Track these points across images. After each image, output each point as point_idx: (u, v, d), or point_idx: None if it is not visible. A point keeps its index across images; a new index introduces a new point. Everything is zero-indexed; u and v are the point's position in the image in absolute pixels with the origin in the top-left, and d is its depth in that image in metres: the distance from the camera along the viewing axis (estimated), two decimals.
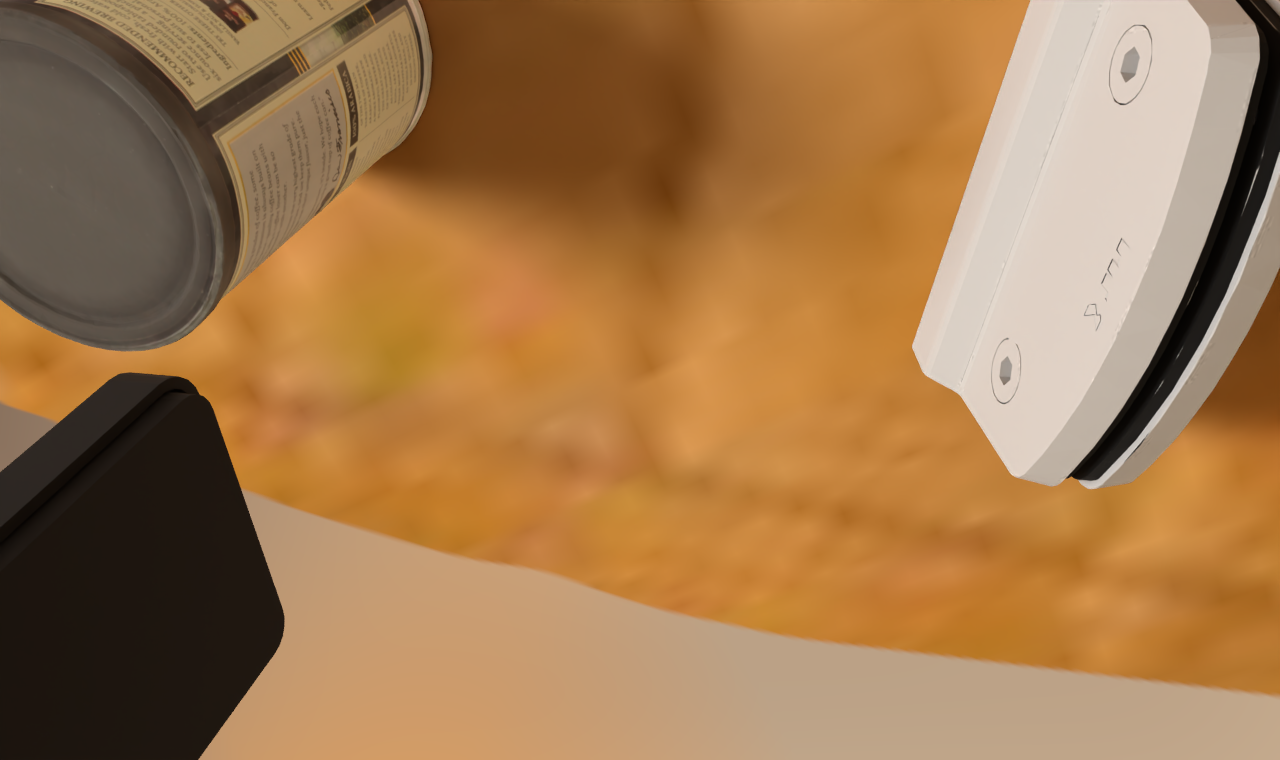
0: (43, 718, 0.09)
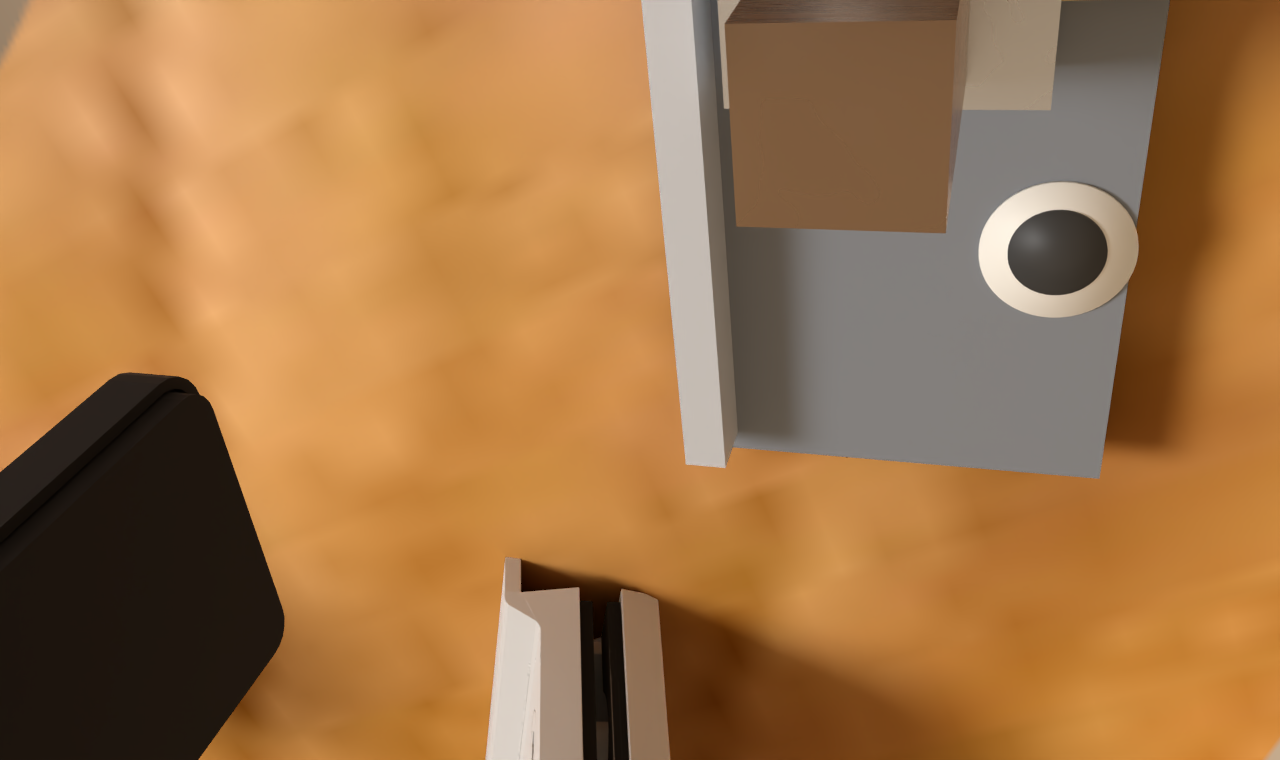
0: (43, 718, 0.09)
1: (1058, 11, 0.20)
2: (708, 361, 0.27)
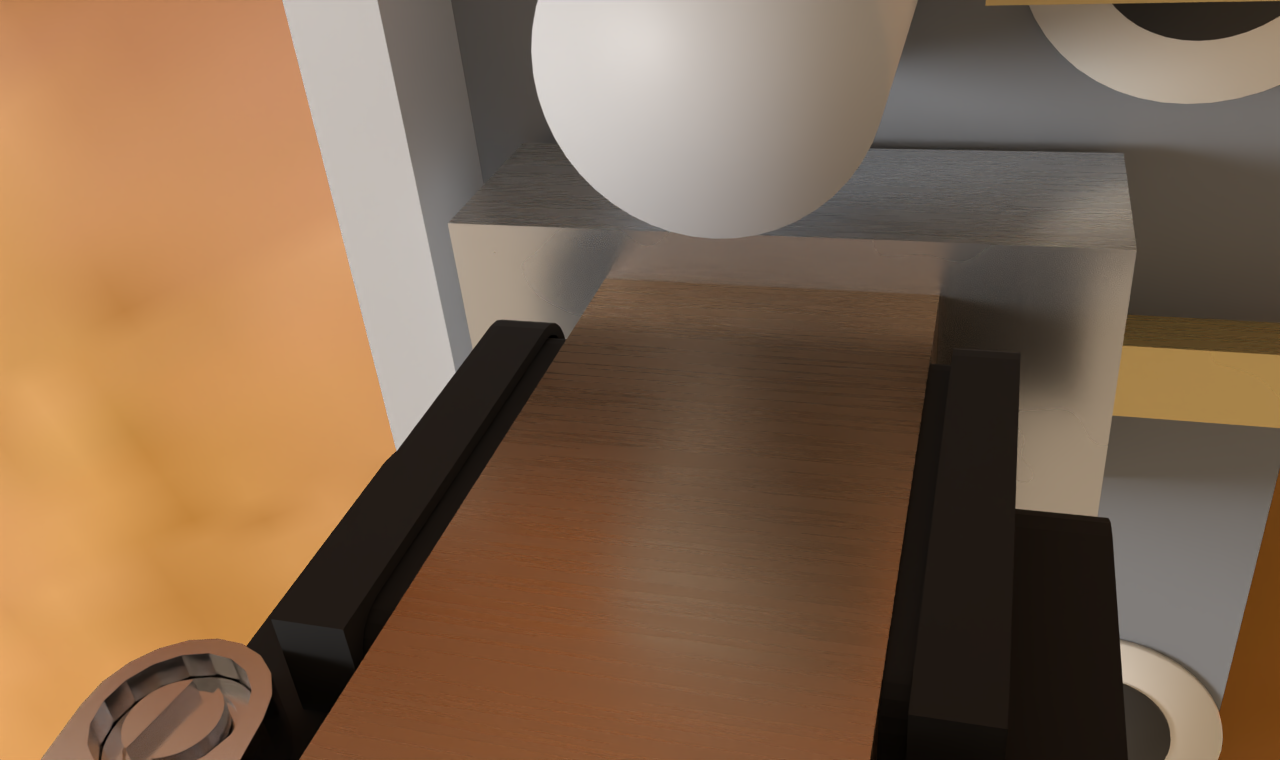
0: None
1: (1099, 472, 0.11)
2: None
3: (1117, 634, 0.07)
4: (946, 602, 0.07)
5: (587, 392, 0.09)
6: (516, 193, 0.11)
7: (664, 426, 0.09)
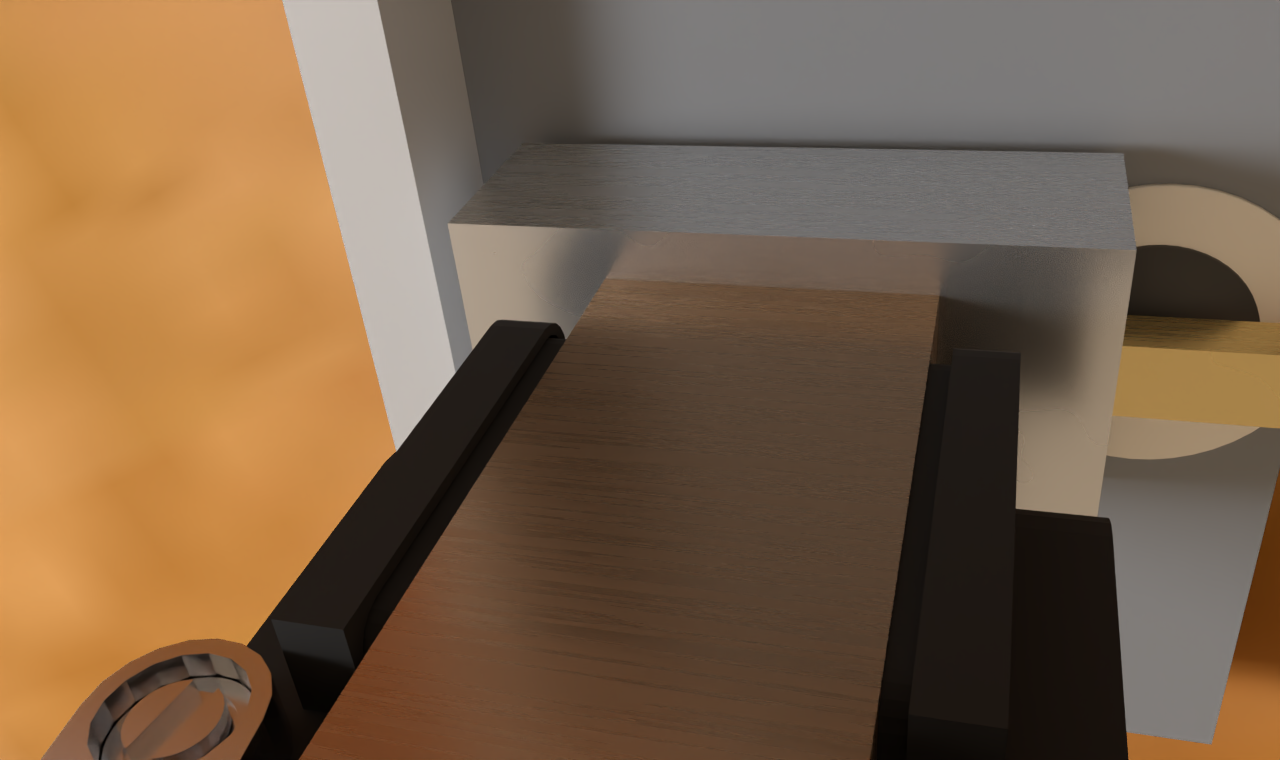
0: None
1: (1099, 472, 0.11)
2: None
3: (1117, 634, 0.07)
4: (946, 602, 0.07)
5: (587, 392, 0.09)
6: (516, 193, 0.11)
7: (662, 424, 0.09)
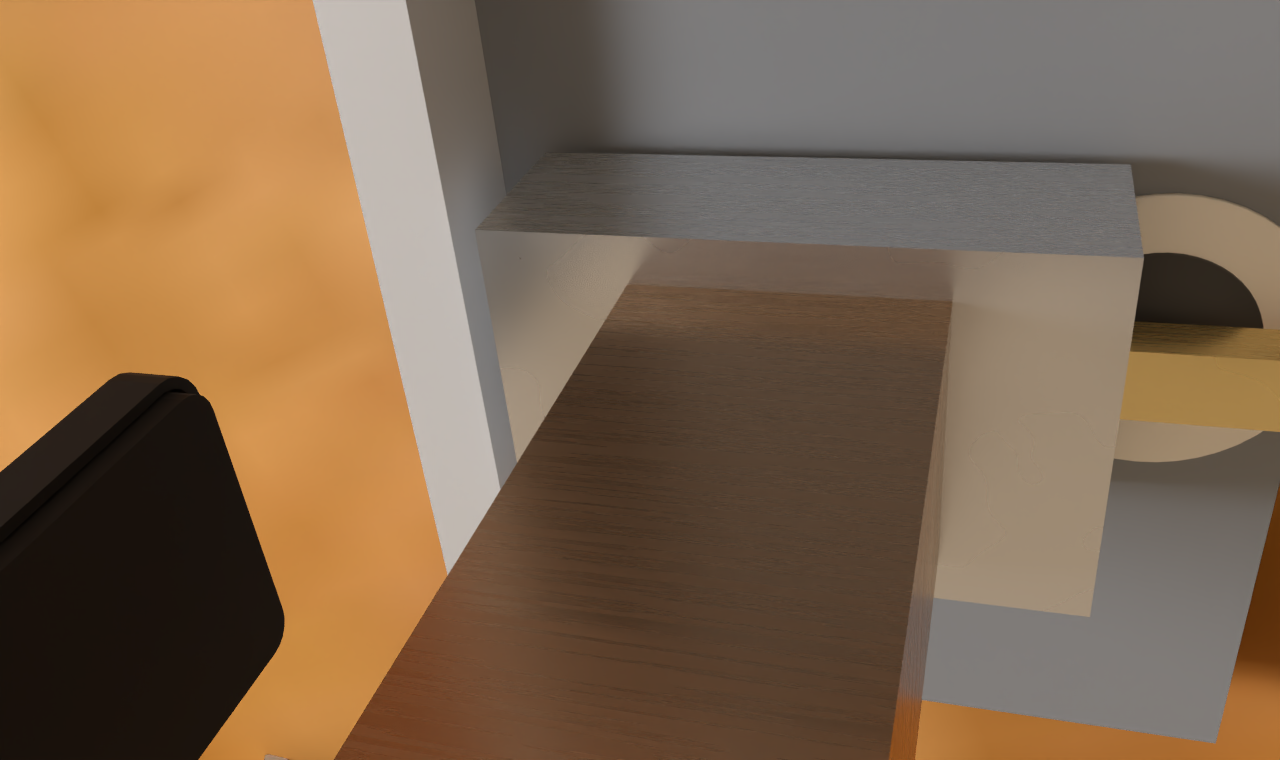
0: (43, 718, 0.09)
1: (1107, 474, 0.11)
2: None
3: None
4: None
5: (613, 393, 0.10)
6: (541, 200, 0.12)
7: (687, 423, 0.09)
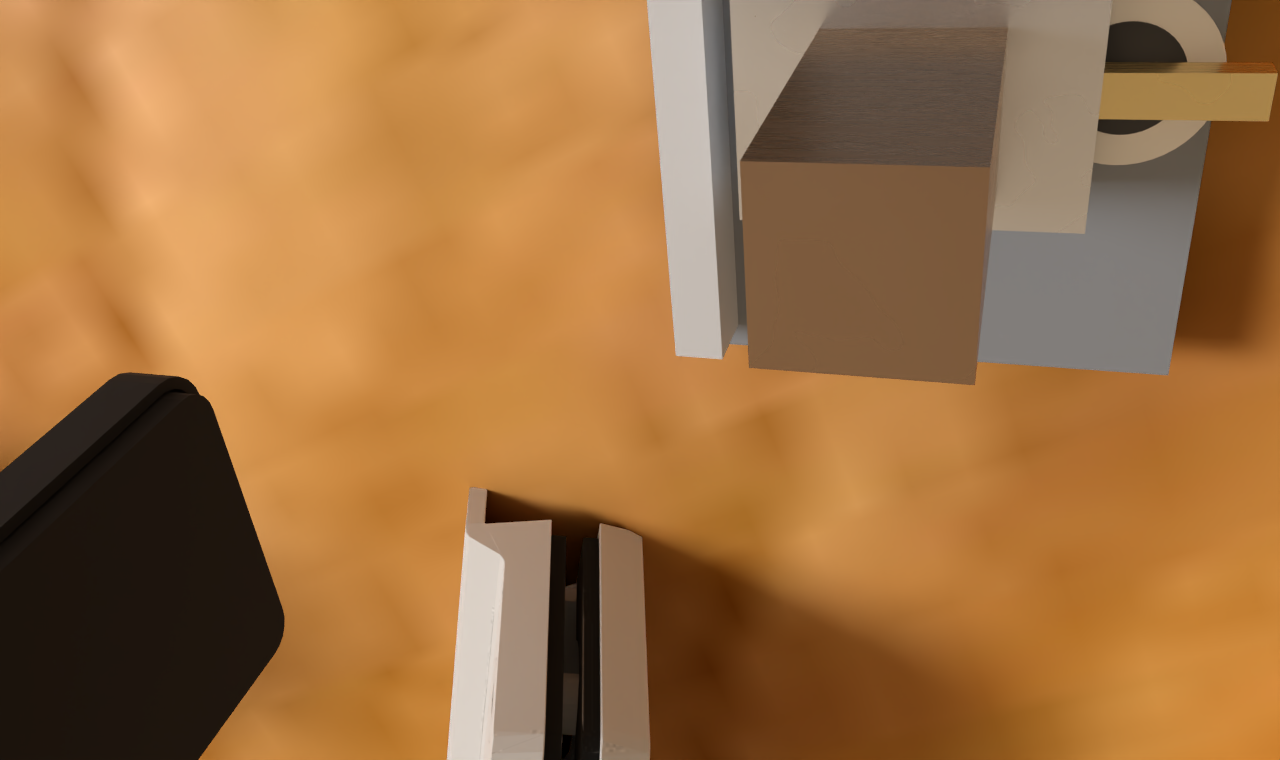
0: (43, 719, 0.09)
1: (1094, 133, 0.19)
2: (703, 221, 0.23)
3: None
4: None
5: (827, 62, 0.18)
6: None
7: (872, 69, 0.17)
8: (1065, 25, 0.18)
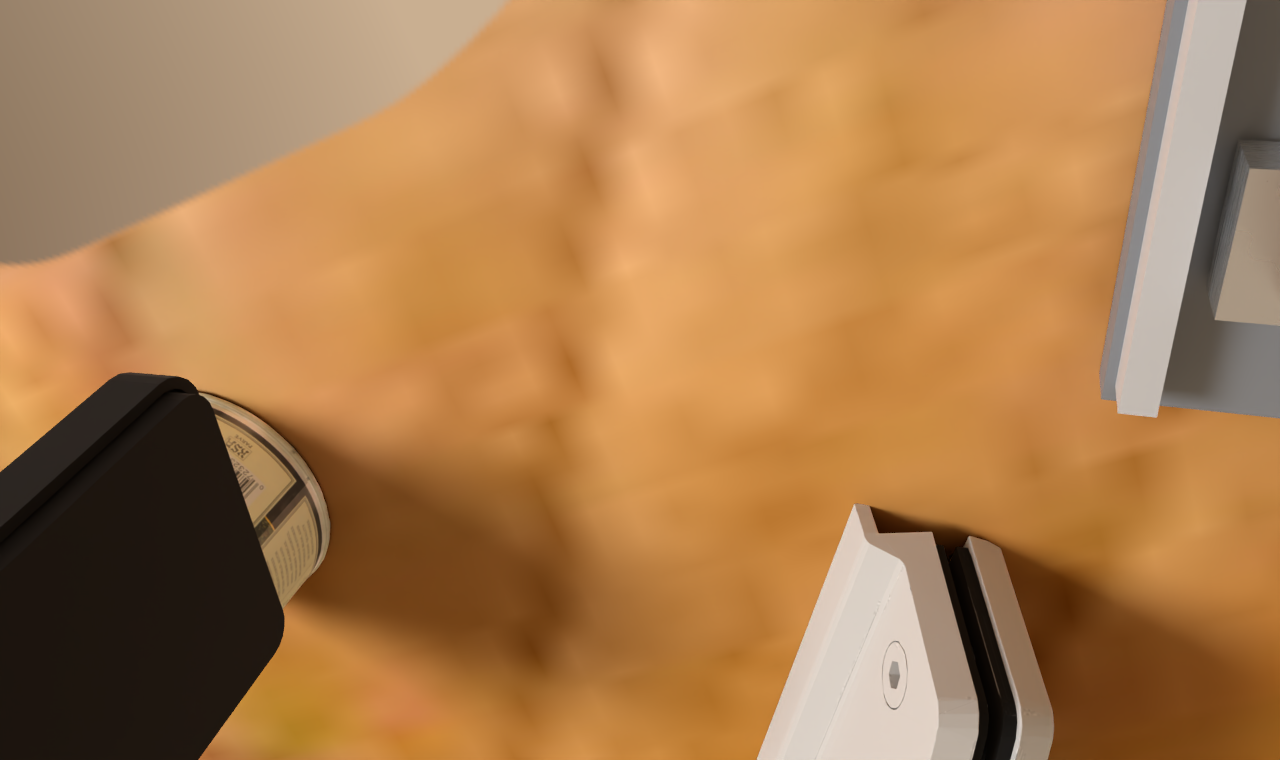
0: (43, 718, 0.09)
1: None
2: (1169, 316, 0.31)
3: None
4: None
5: None
6: (1265, 158, 0.28)
7: None
8: None
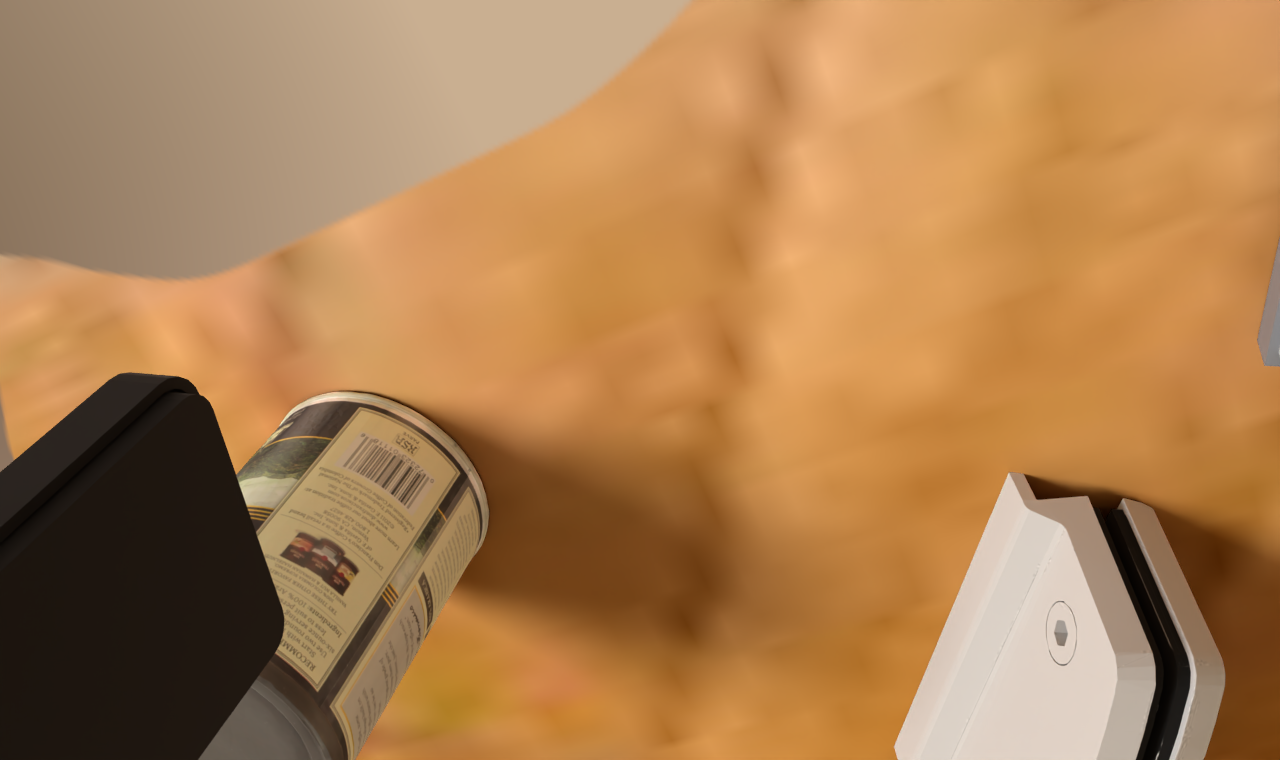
0: (43, 718, 0.09)
1: None
2: None
3: None
4: None
5: None
6: None
7: None
8: None
